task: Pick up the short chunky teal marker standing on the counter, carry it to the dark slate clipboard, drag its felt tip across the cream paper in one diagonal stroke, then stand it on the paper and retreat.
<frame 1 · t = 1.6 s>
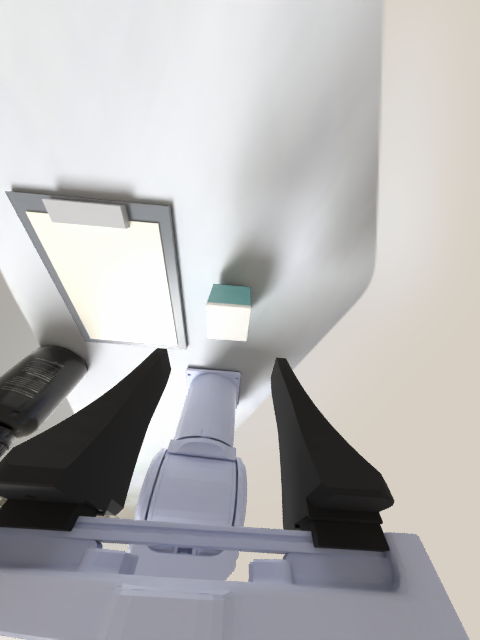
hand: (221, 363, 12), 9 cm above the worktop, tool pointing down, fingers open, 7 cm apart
clipboard: (120, 287, 20), on the worktop
supplement bottle: (65, 360, 27), on the worktop
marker: (231, 296, 20), on the worktop
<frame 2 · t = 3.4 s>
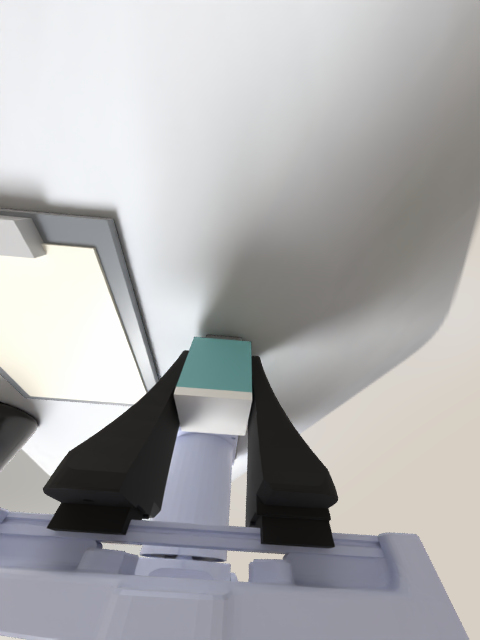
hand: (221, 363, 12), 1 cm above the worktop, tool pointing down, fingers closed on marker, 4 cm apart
clipboard: (57, 335, 13), on the worktop
supplement bottle: (8, 413, 21), on the worktop
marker: (223, 348, 14), on the worktop, touching gripper
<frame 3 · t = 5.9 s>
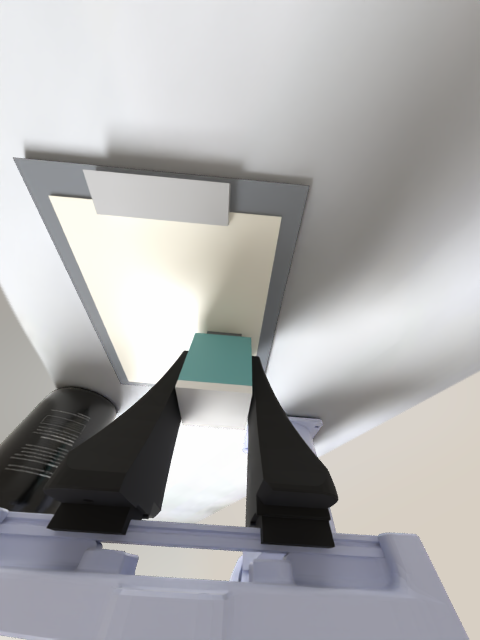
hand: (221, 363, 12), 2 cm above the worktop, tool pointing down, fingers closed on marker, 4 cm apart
clipboard: (183, 315, 13), on the worktop
supplement bottle: (88, 402, 21), on the worktop
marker: (224, 345, 14), point 1 cm above the worktop, touching gripper
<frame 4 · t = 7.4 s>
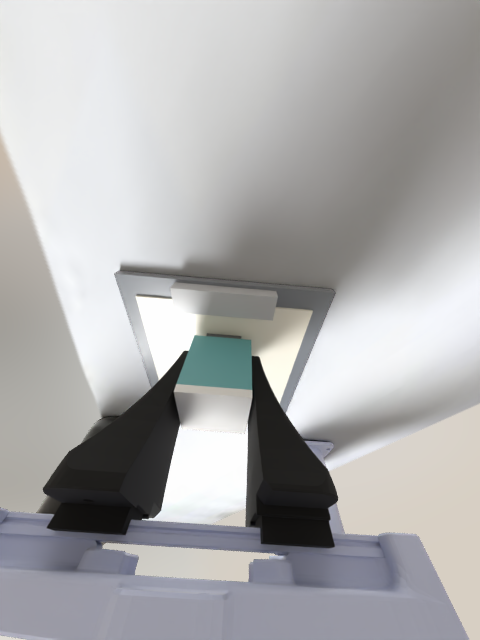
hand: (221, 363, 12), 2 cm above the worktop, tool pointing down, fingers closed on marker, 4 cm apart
clipboard: (223, 367, 16), on the worktop
supplement bottle: (126, 427, 23), on the worktop
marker: (223, 347, 14), point 1 cm above the worktop, touching gripper
when the fingers open (2 cm above the worktop, at t = 8.5 s): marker stays where it is, resting on clipboard.
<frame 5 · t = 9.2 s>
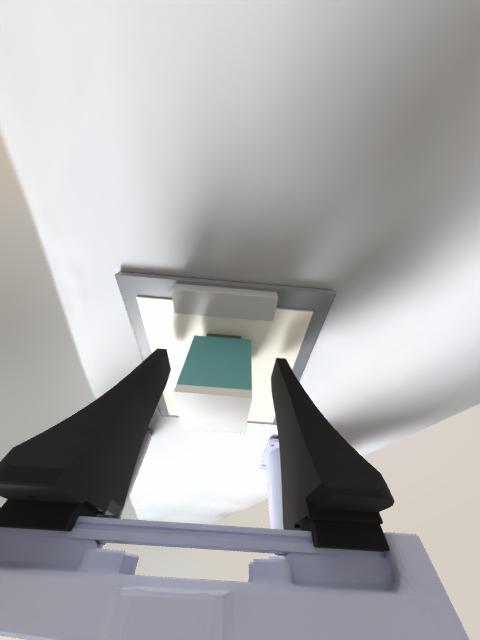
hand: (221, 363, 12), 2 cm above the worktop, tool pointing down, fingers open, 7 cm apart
clipboard: (223, 368, 16), on the worktop
supplement bottle: (126, 427, 23), on the worktop
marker: (223, 347, 14), point 1 cm above the worktop, touching clipboard
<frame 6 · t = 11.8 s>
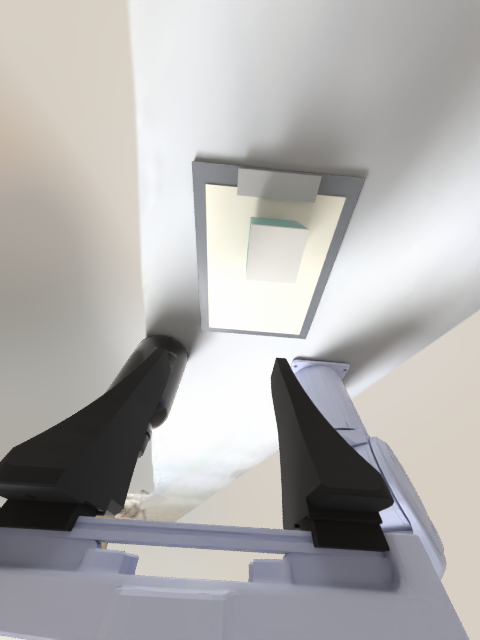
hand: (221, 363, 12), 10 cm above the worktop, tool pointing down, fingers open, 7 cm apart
clipboard: (262, 271, 19), on the worktop
supplement bottle: (165, 351, 26), on the worktop
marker: (268, 240, 17), point 1 cm above the worktop, touching clipboard
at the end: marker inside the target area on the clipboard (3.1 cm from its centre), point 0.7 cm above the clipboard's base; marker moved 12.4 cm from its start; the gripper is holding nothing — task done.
